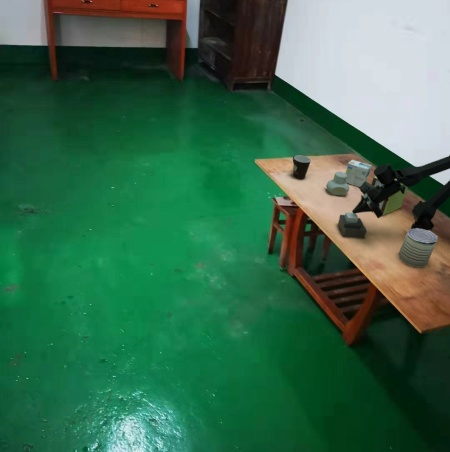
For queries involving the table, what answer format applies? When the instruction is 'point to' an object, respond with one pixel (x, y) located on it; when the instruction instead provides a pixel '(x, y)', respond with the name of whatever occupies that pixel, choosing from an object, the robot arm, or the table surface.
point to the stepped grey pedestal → (351, 228)
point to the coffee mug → (300, 166)
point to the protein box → (390, 199)
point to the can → (417, 247)
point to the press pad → (351, 217)
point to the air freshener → (338, 184)
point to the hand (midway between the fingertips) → (352, 212)
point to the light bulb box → (357, 173)
